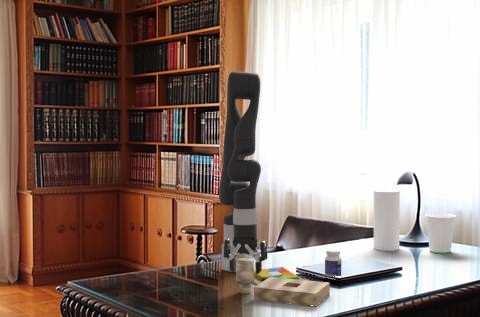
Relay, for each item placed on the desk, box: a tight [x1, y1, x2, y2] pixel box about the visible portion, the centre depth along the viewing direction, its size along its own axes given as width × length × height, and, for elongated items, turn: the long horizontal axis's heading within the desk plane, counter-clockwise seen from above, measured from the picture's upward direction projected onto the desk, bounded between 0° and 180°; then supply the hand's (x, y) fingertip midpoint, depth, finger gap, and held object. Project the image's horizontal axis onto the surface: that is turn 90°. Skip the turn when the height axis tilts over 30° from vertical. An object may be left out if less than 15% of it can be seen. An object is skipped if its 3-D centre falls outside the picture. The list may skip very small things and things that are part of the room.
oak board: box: [253, 277, 331, 306], centre depth 201 cm, size 20×14×4 cm
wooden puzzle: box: [253, 266, 310, 286], centre depth 224 cm, size 18×19×4 cm
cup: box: [424, 212, 457, 255], centre depth 268 cm, size 12×12×15 cm
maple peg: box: [235, 257, 255, 295], centre depth 208 cm, size 6×6×10 cm
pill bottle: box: [324, 249, 342, 277], centre depth 225 cm, size 6×6×10 cm
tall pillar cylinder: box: [373, 188, 401, 252], centre depth 276 cm, size 11×11×25 cm
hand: (245, 272), depth 208 cm, fingers open, 8 cm apart
